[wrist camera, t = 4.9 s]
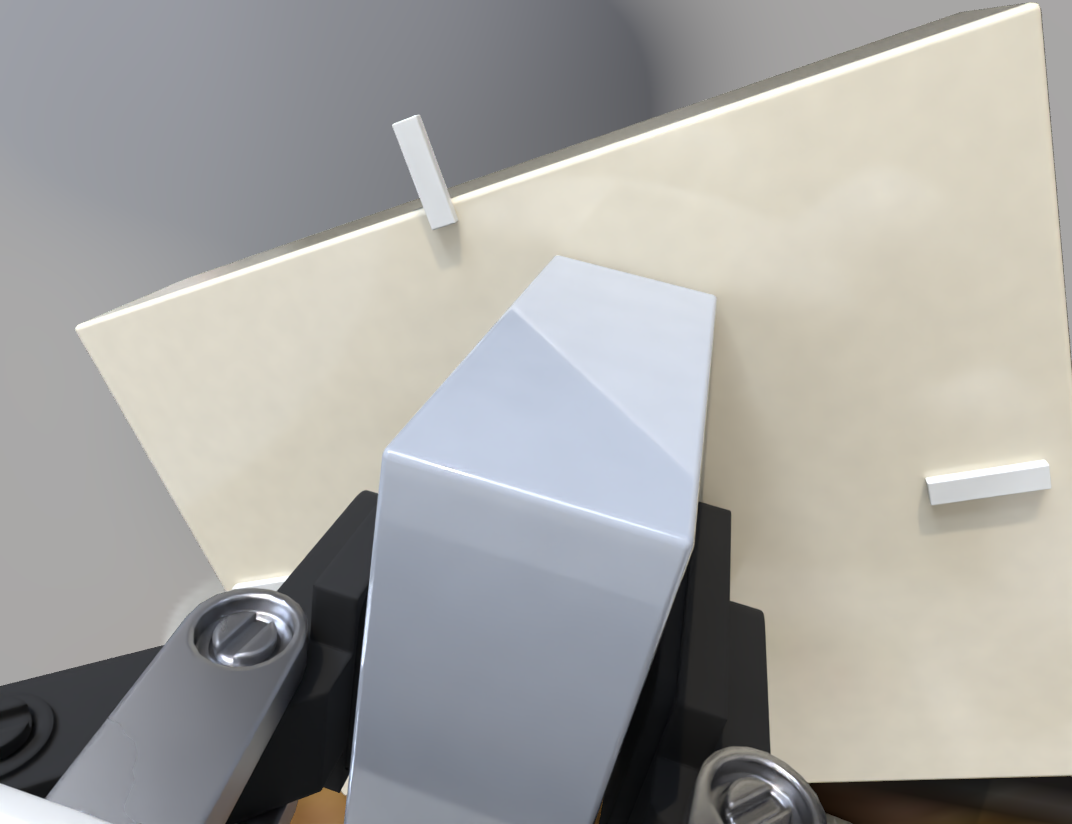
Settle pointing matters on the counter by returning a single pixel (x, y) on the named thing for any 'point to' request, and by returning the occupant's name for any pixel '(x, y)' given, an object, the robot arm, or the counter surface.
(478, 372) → the grey rectangular block
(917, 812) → the counter surface
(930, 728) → the cream flat tabbed slab
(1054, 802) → the counter surface
